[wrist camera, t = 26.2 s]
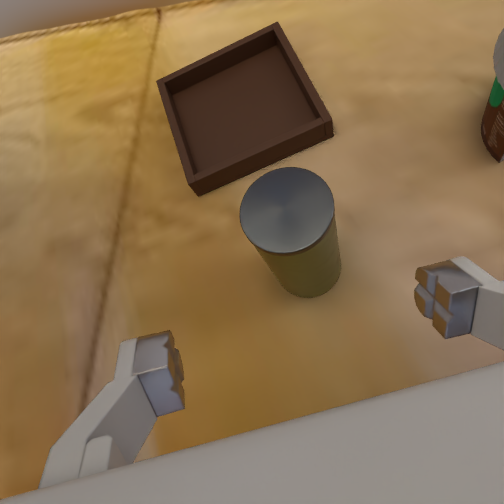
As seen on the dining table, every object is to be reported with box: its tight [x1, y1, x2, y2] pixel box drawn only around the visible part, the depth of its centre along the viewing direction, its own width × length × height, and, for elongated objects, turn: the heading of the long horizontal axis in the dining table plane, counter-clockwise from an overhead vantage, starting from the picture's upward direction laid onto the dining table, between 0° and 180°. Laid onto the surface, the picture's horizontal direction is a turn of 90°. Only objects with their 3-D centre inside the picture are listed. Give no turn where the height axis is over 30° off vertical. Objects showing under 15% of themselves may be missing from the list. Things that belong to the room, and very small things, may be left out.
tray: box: [156, 22, 334, 196], centre depth 39 cm, size 15×15×2 cm
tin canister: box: [240, 167, 341, 298], centre depth 28 cm, size 6×6×11 cm
